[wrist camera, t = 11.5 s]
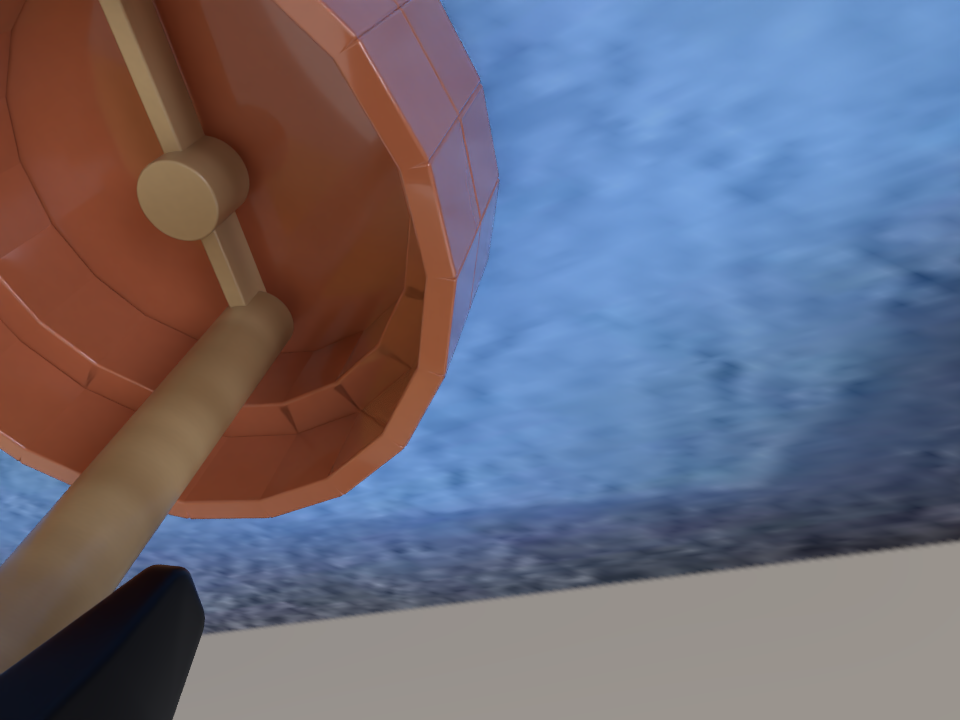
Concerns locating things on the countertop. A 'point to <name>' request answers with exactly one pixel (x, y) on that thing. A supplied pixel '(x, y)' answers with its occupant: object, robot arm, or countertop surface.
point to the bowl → (264, 221)
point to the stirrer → (186, 389)
